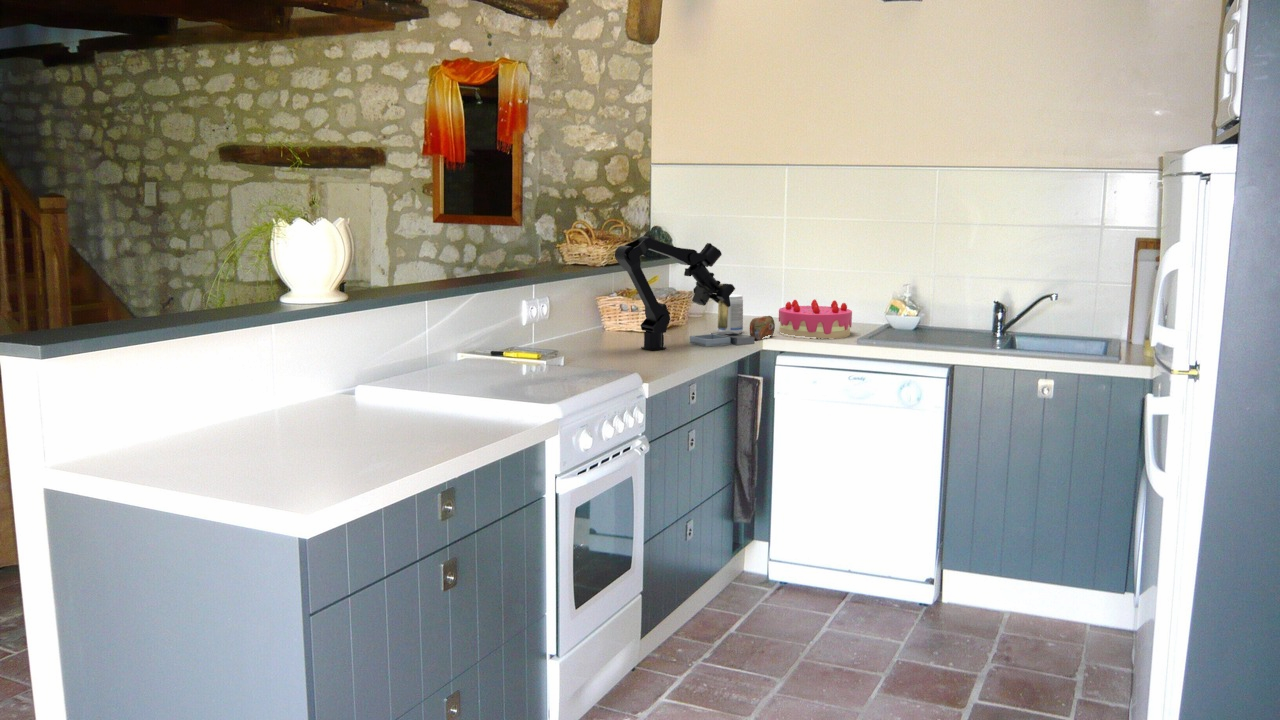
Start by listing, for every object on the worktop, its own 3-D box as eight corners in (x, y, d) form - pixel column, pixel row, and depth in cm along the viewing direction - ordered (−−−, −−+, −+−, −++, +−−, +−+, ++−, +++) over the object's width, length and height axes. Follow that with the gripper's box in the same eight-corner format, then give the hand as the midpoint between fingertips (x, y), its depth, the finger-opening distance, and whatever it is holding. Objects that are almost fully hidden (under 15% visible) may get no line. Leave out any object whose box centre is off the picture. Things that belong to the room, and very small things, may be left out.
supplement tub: (743, 331, 396) (744, 294, 393) (741, 334, 386) (742, 296, 384) (719, 330, 397) (719, 293, 395) (716, 334, 388) (717, 296, 386)
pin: (722, 329, 363) (724, 284, 360) (713, 327, 366) (714, 283, 364) (731, 328, 366) (733, 284, 363) (722, 326, 370) (723, 283, 367)
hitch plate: (736, 345, 361) (737, 338, 360) (710, 339, 374) (710, 332, 374) (754, 343, 365) (754, 336, 365) (728, 337, 378) (728, 331, 378)
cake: (812, 327, 409) (813, 296, 407) (866, 335, 387) (867, 303, 385) (763, 333, 393) (764, 301, 390) (816, 341, 371) (817, 308, 368)
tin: (754, 341, 370) (755, 318, 369) (747, 340, 372) (748, 318, 371) (775, 336, 382) (775, 314, 381) (768, 336, 384) (768, 314, 383)
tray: (706, 346, 357) (706, 339, 357) (689, 342, 366) (689, 336, 366) (730, 344, 363) (730, 337, 362) (713, 340, 371) (713, 333, 371)
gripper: (674, 290, 364) (698, 319, 371) (704, 294, 348) (728, 325, 356) (692, 268, 367) (716, 297, 374) (723, 271, 351) (747, 302, 359)
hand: (726, 305), depth 366 cm, fingers closed on pin, 4 cm apart
